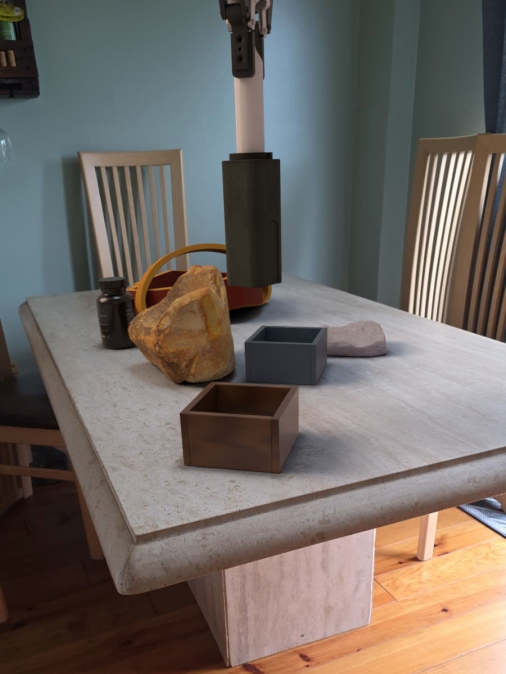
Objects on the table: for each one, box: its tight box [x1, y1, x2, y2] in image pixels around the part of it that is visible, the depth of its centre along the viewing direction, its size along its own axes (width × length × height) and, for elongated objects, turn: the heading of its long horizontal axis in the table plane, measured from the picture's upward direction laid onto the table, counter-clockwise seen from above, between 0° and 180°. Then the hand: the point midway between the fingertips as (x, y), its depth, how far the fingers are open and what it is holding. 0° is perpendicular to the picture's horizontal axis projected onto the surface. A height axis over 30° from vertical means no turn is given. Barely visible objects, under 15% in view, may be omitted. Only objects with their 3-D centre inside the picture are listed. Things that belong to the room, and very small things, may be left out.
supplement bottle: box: [95, 276, 136, 350], centre depth 112 cm, size 7×7×12 cm
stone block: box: [317, 320, 388, 357], centre depth 106 cm, size 12×5×10 cm
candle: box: [221, 30, 283, 288], centre depth 66 cm, size 5×5×25 cm
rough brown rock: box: [128, 264, 237, 384], centre depth 97 cm, size 23×17×15 cm
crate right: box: [243, 325, 328, 386], centre depth 95 cm, size 11×11×6 cm
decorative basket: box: [126, 242, 273, 316], centre depth 136 cm, size 34×29×15 cm
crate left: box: [179, 381, 300, 474], centre depth 69 cm, size 11×11×6 cm
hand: (248, 78), depth 62 cm, fingers closed on candle, 3 cm apart
